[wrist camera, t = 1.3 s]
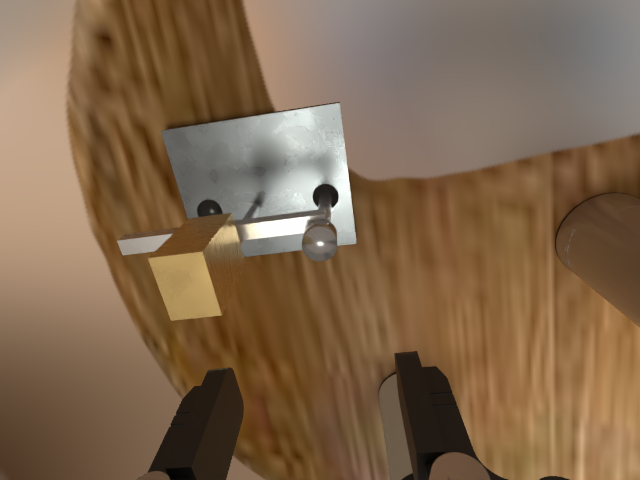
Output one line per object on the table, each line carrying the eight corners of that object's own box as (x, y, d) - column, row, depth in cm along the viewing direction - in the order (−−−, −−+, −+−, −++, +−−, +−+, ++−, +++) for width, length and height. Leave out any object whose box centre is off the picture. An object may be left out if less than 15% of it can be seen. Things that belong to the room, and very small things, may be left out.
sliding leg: (263, 171, 36) (202, 251, 19) (271, 210, 37) (221, 315, 21) (233, 175, 36) (147, 258, 20) (242, 214, 37) (171, 320, 21)
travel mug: (408, 358, 47) (448, 512, 30) (452, 389, 48) (512, 551, 32) (366, 394, 49) (381, 552, 33) (409, 422, 51) (444, 586, 35)
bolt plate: (339, 101, 35) (342, 117, 22) (356, 237, 40) (365, 316, 27) (162, 129, 36) (64, 159, 23) (201, 256, 42) (140, 339, 29)
